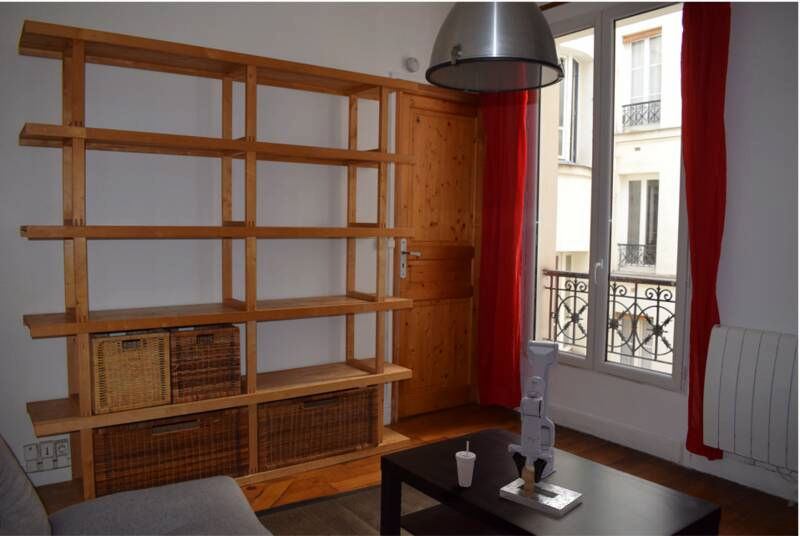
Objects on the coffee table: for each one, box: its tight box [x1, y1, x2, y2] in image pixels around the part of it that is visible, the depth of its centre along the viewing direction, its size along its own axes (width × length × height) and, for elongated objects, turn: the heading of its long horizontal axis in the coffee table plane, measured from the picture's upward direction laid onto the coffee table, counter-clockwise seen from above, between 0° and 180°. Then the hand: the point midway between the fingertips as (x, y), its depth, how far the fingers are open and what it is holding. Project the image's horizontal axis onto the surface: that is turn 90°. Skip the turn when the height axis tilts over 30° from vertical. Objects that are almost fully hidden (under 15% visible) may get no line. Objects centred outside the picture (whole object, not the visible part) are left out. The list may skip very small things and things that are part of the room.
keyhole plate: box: [499, 477, 583, 518], centre depth 193 cm, size 14×20×2 cm
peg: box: [522, 465, 535, 493], centre depth 195 cm, size 5×5×7 cm
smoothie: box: [455, 440, 477, 488], centre depth 202 cm, size 6×6×14 cm
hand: (529, 479), depth 195 cm, fingers closed on peg, 5 cm apart
